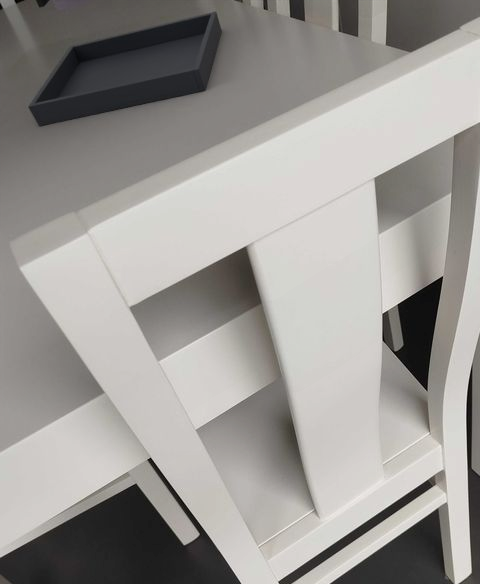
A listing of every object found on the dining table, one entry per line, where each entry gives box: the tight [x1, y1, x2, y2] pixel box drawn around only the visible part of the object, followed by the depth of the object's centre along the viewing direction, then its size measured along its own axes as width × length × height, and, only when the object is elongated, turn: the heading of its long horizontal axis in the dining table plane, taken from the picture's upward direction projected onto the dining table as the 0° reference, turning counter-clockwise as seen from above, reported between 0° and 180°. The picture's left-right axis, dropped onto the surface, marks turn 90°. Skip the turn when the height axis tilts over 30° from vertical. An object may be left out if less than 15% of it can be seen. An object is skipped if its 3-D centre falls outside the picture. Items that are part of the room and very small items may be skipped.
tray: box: [27, 10, 222, 127], centre depth 90 cm, size 26×22×3 cm
